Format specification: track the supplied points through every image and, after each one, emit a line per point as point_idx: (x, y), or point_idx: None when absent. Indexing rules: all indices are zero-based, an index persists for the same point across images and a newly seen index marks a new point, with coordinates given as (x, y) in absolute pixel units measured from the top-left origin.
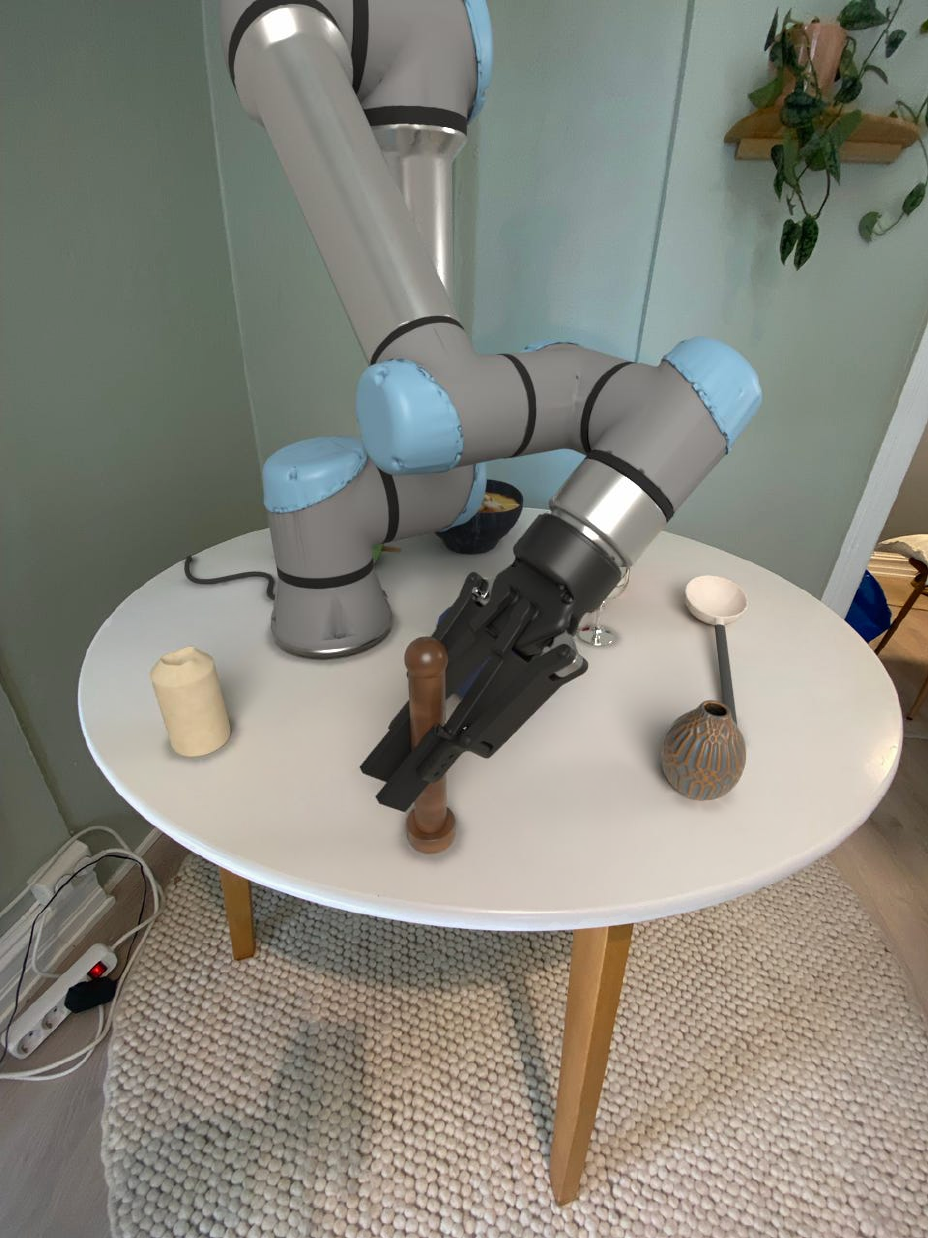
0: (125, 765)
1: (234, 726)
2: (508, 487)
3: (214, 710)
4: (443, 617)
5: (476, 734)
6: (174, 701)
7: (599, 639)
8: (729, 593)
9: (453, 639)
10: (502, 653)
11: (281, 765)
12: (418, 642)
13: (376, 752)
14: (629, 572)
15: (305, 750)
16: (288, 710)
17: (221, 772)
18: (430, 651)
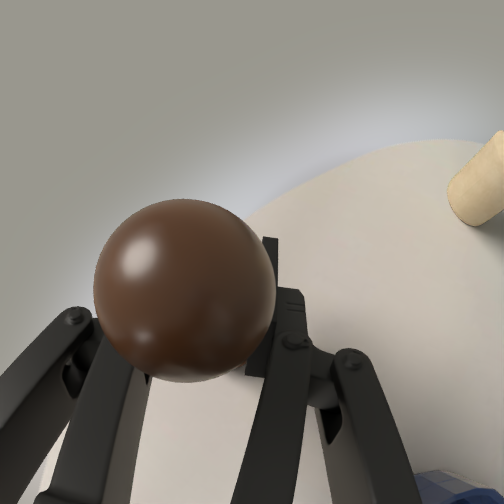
0: (451, 146)
1: (474, 231)
2: None
3: (479, 191)
4: (498, 501)
5: (54, 329)
6: (484, 147)
7: None
8: None
9: (350, 495)
10: (37, 496)
11: (410, 247)
12: (176, 230)
13: (268, 254)
14: None
15: (420, 278)
16: (478, 287)
17: (422, 198)
18: (105, 253)
